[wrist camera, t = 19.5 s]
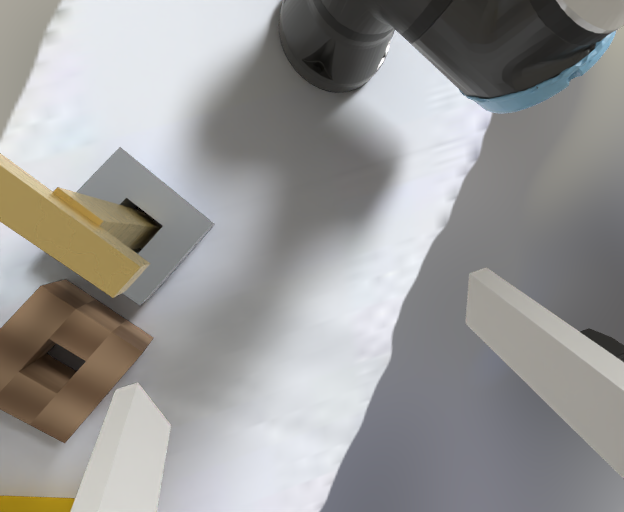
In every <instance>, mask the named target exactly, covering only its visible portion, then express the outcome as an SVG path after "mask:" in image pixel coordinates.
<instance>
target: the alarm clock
mask: <svg viewBox="0 0 624 512" xmlns="http://www.w3.org/2000/svg"><path fill="white" fill-rule="evenodd" d="M74 501H75V498H52V497H24V496H0V512H70V511H71V509H72V506H73V503H74Z"/></svg>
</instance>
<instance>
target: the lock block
mask: <svg viewBox="0 0 624 512" xmlns="http://www.w3.org/2000/svg"><path fill="white" fill-rule="evenodd" d="M152 339H153V337H152V336H150V335H149V334H147V333H146V332H144V331H143V330H141V329H140V328H138V327H137V326H135V325H134V324H132V323H131V322H129V321H128V320H126V319H125V318H123V317H122V316H120V315H119V314H117V313H116V312H114V311H113V310H111V309H110V308H108V307H107V306H105V305H104V304H102V303H101V302H99V301H98V300H96V299H95V298H93V297H92V296H90V295H89V294H87V293H86V292H84V291H83V290H81V289H80V288H78V287H77V286H75V285H74V284H72V283H71V282H69V281H68V280H66V279H64V280H61V281H57V282H53V283H50V284H46V285H42V286H40V287H39V288H38V289H37V290H36V291H35V292H34V294H33V295H32V296H31V297H30V298H29V299H28V300H27V301H26V302H25V303H24V304H23V305H22V306H21V307H20V308H19V310H18V311H17V312H16V313H15V314H14V315H13V316H12V317H11V318H10V319H9V320H8V321H7V322H6V323H5V324H4V325H3V327H2V328H1V329H0V409H1V410H2V411H4V412H6V413H8V414H10V415H12V416H14V417H16V418H18V419H20V420H21V421H23V422H25V423H27V424H29V425H31V426H33V427H35V428H37V429H39V430H40V431H42V432H44V433H46V434H48V435H50V436H52V437H54V438H56V439H58V440H59V441H61V442H63V443H65V442H66V441H67V440H68V439H69V438H70V437H71V435H72V434H73V433H74V432H75V431H76V430H77V428H78V427H79V426H80V425H81V424H82V423H83V421H84V420H85V419H86V418H87V417H88V416H89V414H90V413H91V412H92V411H93V410H94V409H95V408H96V406H97V405H98V404H99V403H100V402H101V401H102V399H103V398H104V397H105V396H106V395H107V394H108V392H109V391H110V390H111V389H112V388H113V387H114V385H115V384H116V383H117V382H118V381H119V380H120V378H121V377H122V376H123V375H124V374H125V373H126V372H127V370H128V369H129V368H130V367H131V366H132V365H133V363H134V362H135V361H136V360H137V359H138V358H139V356H140V355H141V354H142V353H143V352H144V350H145V349H146V348H147V346H148V345H149V343H150V342H151V341H152ZM56 343H57V344H58V345H60V346H62V347H63V348H65V349H66V350H68V351H70V352H71V353H73V354H75V355H76V356H78V357H80V358H81V359H83V360H85V361H86V362H85V363H84V364H83V365H82V366H81V367H80V368H79V370H78V371H75V370H73V369H72V368H70V367H68V366H67V365H65V364H63V363H62V362H60V361H58V360H57V359H55V358H53V357H52V356H50V355H48V354H47V353H48V351H49V350H50V349H51V348H52V347H53V346H54V345H55V344H56Z"/></svg>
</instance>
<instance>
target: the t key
mask: <svg viewBox="0 0 624 512" xmlns="http://www.w3.org/2000/svg"><path fill="white" fill-rule="evenodd" d="M0 222H2V223H3V224H5V225H6V226H8V227H9V228H10V229H12V230H13V231H15V232H16V233H18V234H19V235H21V236H22V237H24V238H25V239H27V240H28V241H30V242H31V243H33V244H34V245H36V246H37V247H38V248H40V249H41V250H43V251H44V252H46V253H47V254H49V255H50V256H52V257H53V258H55V259H56V260H58V261H59V262H61V263H62V264H64V265H65V266H67V267H68V268H69V269H71V270H72V271H74V272H75V273H77V274H78V275H80V276H81V277H83V278H84V279H86V280H87V281H89V282H90V283H92V284H93V285H95V286H96V287H97V288H99V289H100V290H102V291H103V292H105V293H106V294H108V295H109V296H111V297H112V298H114V297H116V296H118V295H120V294H121V293H123V292H125V291H126V290H127V289H128V288H129V287H130V286H131V285H132V284H133V283H134V281H135V280H136V279H137V278H138V277H139V276H140V275H141V274H142V272H143V271H144V270H145V269H146V268H147V267H148V266H149V265H150V264H151V263H149V262H148V261H147V260H145V259H144V258H142V257H141V256H140V255H138V254H137V253H136V252H134V251H133V250H132V249H138V248H144V247H145V245H146V244H147V243H148V242H149V241H150V240H151V239H152V238H153V237H154V236H155V234H156V233H157V232H158V231H159V230H160V229H161V228H162V227H161V226H160V225H159V224H157V223H156V222H155V221H154V220H152V219H151V218H150V217H148V216H147V215H146V214H145V213H143V212H142V211H140V210H137V209H133V208H130V207H126V206H123V205H119V204H116V203H112V202H108V201H105V200H101V199H98V198H94V197H91V196H87V195H84V194H80V193H76V192H73V191H69V190H66V189H62V188H59V187H57V188H56V189H55V190H54V191H53V192H52V191H51V190H50V189H48V188H47V187H46V186H44V185H43V184H41V183H40V182H39V181H37V180H36V179H35V178H33V177H32V176H31V175H29V174H28V173H26V172H25V171H24V170H22V169H21V168H20V167H18V166H17V165H16V164H14V163H13V162H11V161H10V160H9V159H7V158H6V157H5V156H3V155H2V154H1V153H0Z"/></svg>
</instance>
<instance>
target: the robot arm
mask: <svg viewBox="0 0 624 512" xmlns="http://www.w3.org/2000/svg"><path fill="white" fill-rule="evenodd" d="M622 26H624V0H283V2H282V7H281V11H280V16H279V33H280V39H281V43H282V46H283V49H284V52H285V54H286V56H287V58H288V60H289V61H290V63H291V64H292V66H293V67H294V69H295V70H296V71H297V72H298V73H299V74H300V75H301V76H302V77H303V78H304V79H305V80H307V81H308V82H309V83H311V84H313V85H314V86H316V87H318V88H321V89H323V90H327V91H331V92H347V91H351V90H354V89H357V88H359V87H361V86H362V85H364V84H365V83H366V82H368V81H369V80H370V79H371V77H372V76H373V75H374V74H375V73H376V72H377V71H378V69H379V68H380V67H381V65H382V64H383V62H384V60H385V58H386V55H387V53H388V49H389V46H390V41H391V38H392V36H393V34H394V31H395V30H396V31H397V32H398V33H400V34H401V35H402V36H403V37H404V38H405V39H406V40H407V41H409V43H410V44H411V45H412V46H414V47H415V48H416V49H417V50H418V51H419V52H420V53H421V54H422V55H423V56H424V57H425V58H426V59H428V60H429V61H430V62H431V63H432V64H433V65H434V66H435V67H436V68H437V69H438V70H439V71H440V72H441V73H443V74H444V75H445V76H446V77H447V78H448V79H449V80H450V81H451V82H452V83H453V84H454V85H455V86H456V87H458V88H459V90H460V92H461V93H462V94H463V95H464V96H466V97H467V98H469V99H471V100H474V101H475V102H476V103H477V104H479V105H480V106H481V107H482V108H484V109H485V110H487V111H490V112H493V113H511V112H516V111H520V110H523V109H526V108H529V107H532V106H534V105H536V104H539V103H541V102H543V101H545V100H547V99H549V98H550V97H552V96H554V95H555V94H557V93H559V92H560V91H562V90H563V89H565V88H566V87H568V86H569V82H570V80H571V79H573V78H575V77H577V76H582V75H583V74H584V73H585V72H587V71H588V70H589V69H590V68H591V67H592V66H593V65H594V64H595V63H596V62H597V61H598V60H599V59H600V57H601V56H602V55H603V54H604V52H605V51H606V50H607V48H608V47H609V45H610V44H611V42H612V40H613V38H614V36H615V33H616V30H618V29H619V28H621V27H622ZM466 324H467V325H468V326H469V327H470V328H471V329H472V330H473V331H474V332H475V333H476V334H477V335H478V336H479V337H480V338H481V339H482V340H483V341H484V342H485V343H486V344H487V345H488V346H489V347H490V348H491V349H492V350H493V351H494V352H495V353H496V354H497V355H498V356H499V357H500V358H501V359H502V360H503V361H504V362H505V363H506V364H507V365H508V366H509V367H510V368H512V369H513V370H514V372H515V373H517V374H518V375H519V376H520V377H521V378H522V379H523V380H524V381H525V382H526V383H527V384H528V385H529V386H530V387H531V388H532V389H533V390H534V391H535V392H536V393H537V394H538V395H539V396H540V397H541V398H542V399H543V400H544V401H545V402H546V403H547V404H548V405H549V406H550V407H551V408H552V409H553V410H554V411H555V412H556V413H557V414H558V415H559V416H560V417H561V418H562V419H563V420H564V421H565V422H566V423H567V424H568V425H569V426H570V427H572V429H573V430H575V432H577V433H578V434H579V435H580V436H581V437H582V438H583V439H584V440H585V441H586V442H587V443H588V444H589V445H590V446H591V447H592V448H593V449H594V450H595V451H596V452H597V453H598V454H599V455H600V456H601V457H602V458H603V459H604V460H605V461H606V462H607V463H608V464H609V465H610V466H611V467H612V468H613V469H614V470H615V471H616V472H617V473H618V474H619V475H620V476H621V477H622V478H624V345H622V344H621V343H619V342H618V341H616V340H615V339H613V338H612V337H609V336H607V335H604V334H602V333H599V332H596V331H594V330H592V329H586V330H583V331H581V332H579V331H577V330H576V329H575V328H573V327H572V326H570V325H569V324H567V323H566V322H564V321H563V320H561V319H560V318H559V317H557V316H556V315H554V314H553V313H551V312H550V311H549V310H547V309H545V308H544V307H543V306H541V305H540V304H538V303H537V302H535V301H534V300H533V299H531V298H530V297H528V296H527V295H525V294H524V293H522V292H521V291H519V290H518V289H517V288H515V287H514V286H512V285H511V284H509V283H508V282H506V281H505V280H503V279H502V278H501V277H499V276H498V275H496V274H495V273H493V272H492V271H490V270H489V269H488V268H484V269H481V270H478V271H475V272H472V273H470V274H469V285H468V297H467V310H466ZM170 430H171V424H170V423H169V422H168V420H167V419H166V418H165V417H164V415H163V414H162V413H161V411H160V410H159V409H158V408H157V406H156V405H155V404H154V402H153V401H152V400H151V398H150V397H149V396H148V395H147V393H146V392H145V391H144V389H143V388H142V387H141V386H140V384H139V383H138V382H137V383H134V384H131V385H128V386H124V387H121V388H118V389H116V390H115V393H114V396H113V398H112V401H111V404H110V406H109V409H108V412H107V415H106V417H105V420H104V423H103V425H102V428H101V431H100V433H99V436H98V439H97V441H96V444H95V447H94V449H93V452H92V455H91V458H90V460H89V463H88V466H87V468H86V471H85V474H84V476H83V479H82V482H81V484H80V487H79V490H78V492H77V495H76V498H75V501H74V503H73V506H72V509H71V511H70V512H157V508H158V502H159V496H160V490H161V484H162V478H163V472H164V466H165V460H166V454H167V448H168V442H169V436H170Z"/></svg>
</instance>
